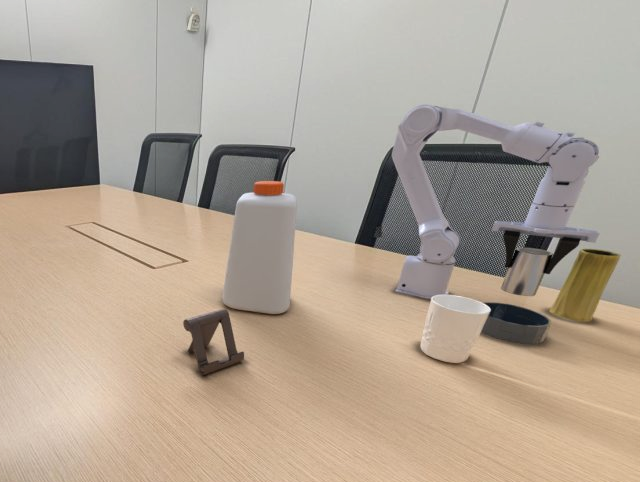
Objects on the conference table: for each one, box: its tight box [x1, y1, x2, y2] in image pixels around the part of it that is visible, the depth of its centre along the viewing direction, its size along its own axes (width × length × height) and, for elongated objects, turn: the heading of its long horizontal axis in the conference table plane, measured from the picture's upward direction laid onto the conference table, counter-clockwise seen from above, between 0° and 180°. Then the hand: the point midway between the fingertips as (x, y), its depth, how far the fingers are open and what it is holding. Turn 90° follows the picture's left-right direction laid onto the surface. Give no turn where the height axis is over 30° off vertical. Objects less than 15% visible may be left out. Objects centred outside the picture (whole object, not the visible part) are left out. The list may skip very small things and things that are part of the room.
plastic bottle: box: [221, 180, 298, 315], centre depth 86 cm, size 15×15×28 cm
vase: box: [549, 248, 622, 322], centre depth 77 cm, size 6×6×14 cm
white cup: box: [419, 294, 491, 364], centre depth 66 cm, size 8×8×10 cm
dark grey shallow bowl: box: [480, 301, 552, 345], centre depth 74 cm, size 11×11×4 cm
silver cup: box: [500, 247, 554, 297], centre depth 79 cm, size 5×5×9 cm
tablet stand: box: [182, 308, 245, 376], centre depth 66 cm, size 9×8×8 cm
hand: (526, 269), depth 79 cm, fingers closed on silver cup, 5 cm apart
